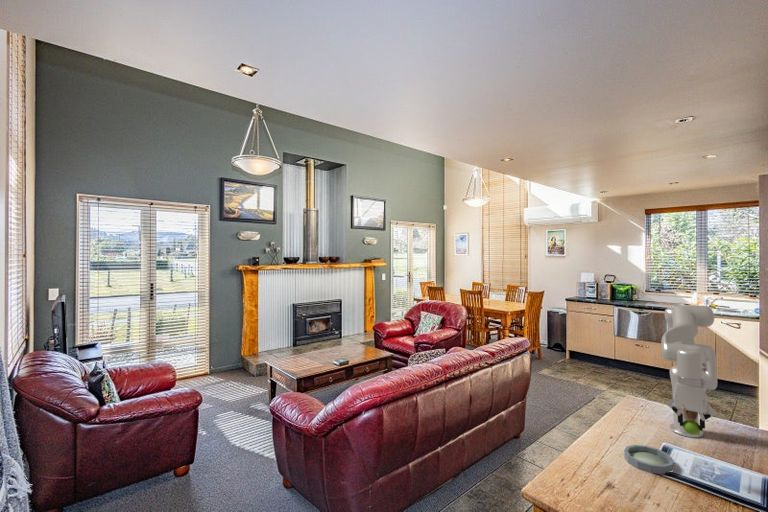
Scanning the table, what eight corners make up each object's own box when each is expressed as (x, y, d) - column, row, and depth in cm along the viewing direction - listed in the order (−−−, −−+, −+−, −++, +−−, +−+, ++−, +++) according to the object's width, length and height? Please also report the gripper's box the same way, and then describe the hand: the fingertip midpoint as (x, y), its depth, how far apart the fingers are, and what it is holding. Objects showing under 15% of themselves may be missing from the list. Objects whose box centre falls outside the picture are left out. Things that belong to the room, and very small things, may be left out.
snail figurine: (677, 431, 149) (675, 401, 148) (691, 430, 149) (690, 400, 149) (689, 438, 143) (688, 407, 143) (704, 436, 144) (703, 405, 144)
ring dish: (630, 447, 168) (629, 441, 168) (676, 461, 156) (676, 454, 156) (620, 463, 156) (620, 456, 156) (669, 479, 144) (669, 471, 144)
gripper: (719, 383, 142) (721, 430, 143) (664, 374, 154) (665, 417, 155) (718, 388, 137) (720, 437, 137) (661, 379, 149) (662, 424, 149)
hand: (691, 426), depth 146 cm, fingers closed on snail figurine, 5 cm apart
